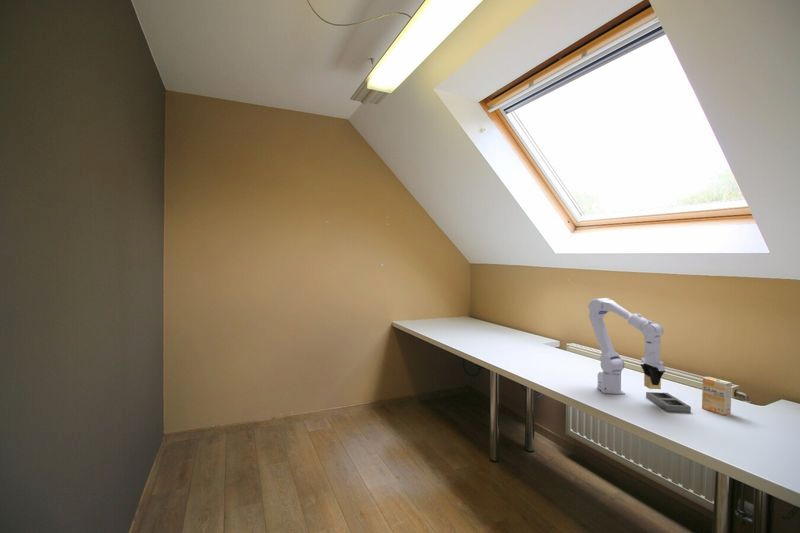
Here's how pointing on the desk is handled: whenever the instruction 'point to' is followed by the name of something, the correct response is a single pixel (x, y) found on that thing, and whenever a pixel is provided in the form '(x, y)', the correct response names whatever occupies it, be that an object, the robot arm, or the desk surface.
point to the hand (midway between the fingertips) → (652, 383)
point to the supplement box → (716, 395)
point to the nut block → (650, 382)
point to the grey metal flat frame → (668, 402)
